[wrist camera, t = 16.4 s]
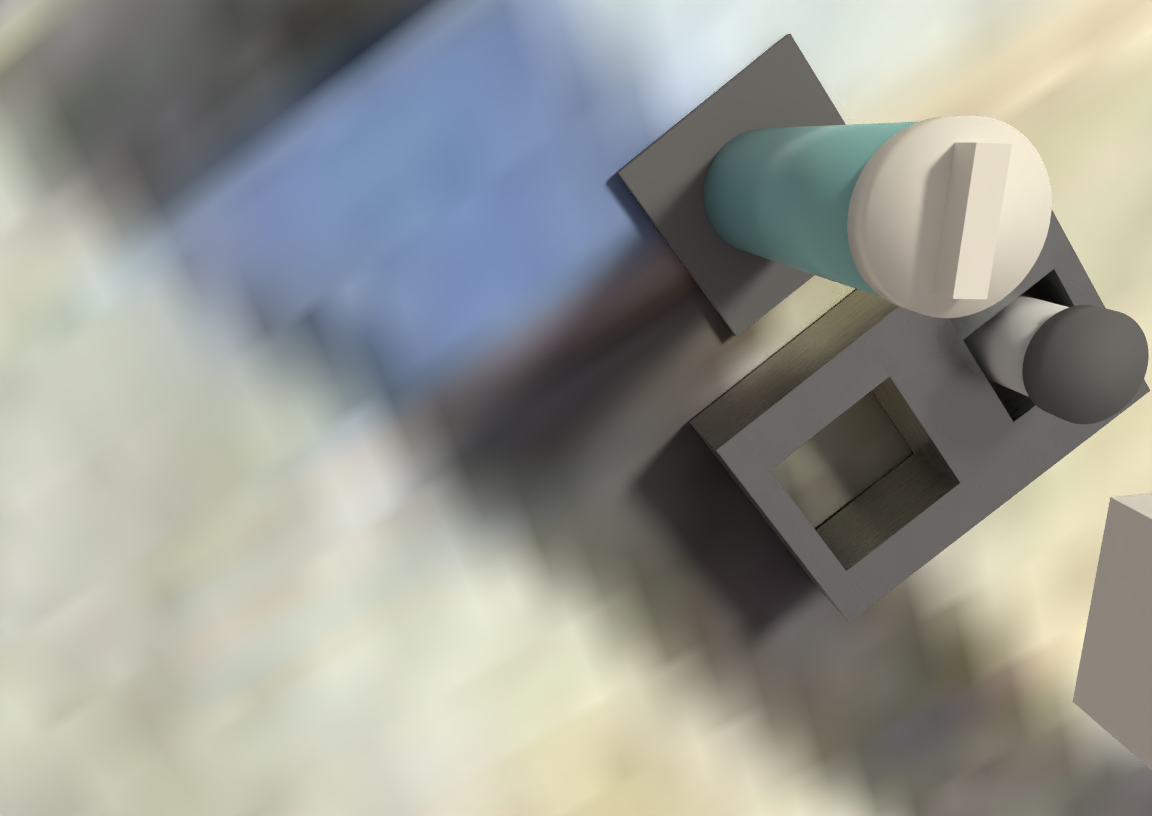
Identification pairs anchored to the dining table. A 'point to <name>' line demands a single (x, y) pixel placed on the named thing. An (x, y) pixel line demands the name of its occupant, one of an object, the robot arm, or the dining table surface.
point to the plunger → (1063, 357)
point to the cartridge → (889, 207)
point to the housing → (921, 414)
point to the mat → (680, 163)
